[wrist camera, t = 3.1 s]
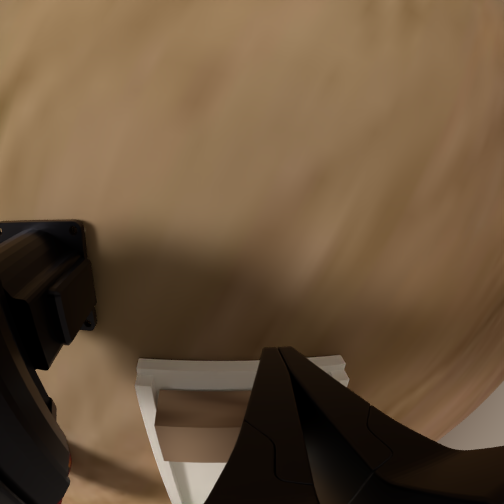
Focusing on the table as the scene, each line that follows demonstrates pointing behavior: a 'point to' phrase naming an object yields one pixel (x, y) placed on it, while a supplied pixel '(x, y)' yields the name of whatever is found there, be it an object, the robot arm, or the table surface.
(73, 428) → the table surface
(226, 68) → the table surface
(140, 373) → the track
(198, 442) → the block
